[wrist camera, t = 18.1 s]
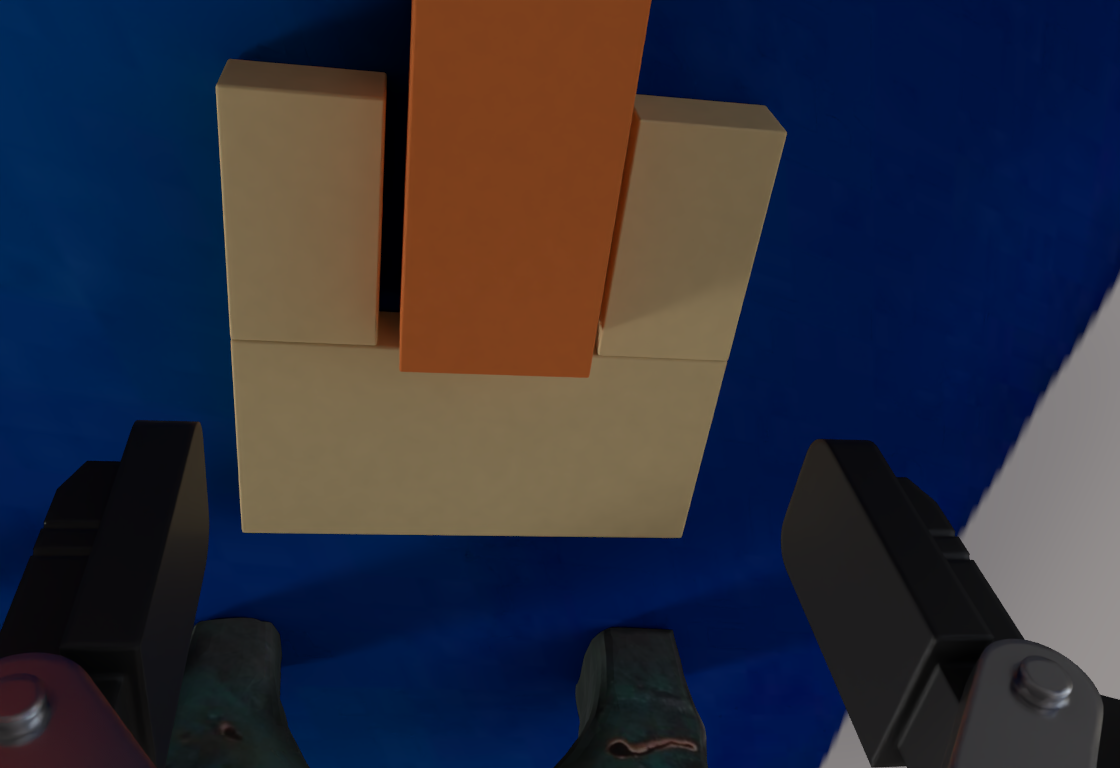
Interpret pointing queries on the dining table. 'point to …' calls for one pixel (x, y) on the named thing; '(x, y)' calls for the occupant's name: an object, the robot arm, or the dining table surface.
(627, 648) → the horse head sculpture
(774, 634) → the dining table surface
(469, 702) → the dining table surface
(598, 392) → the notch pad
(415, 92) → the pad
